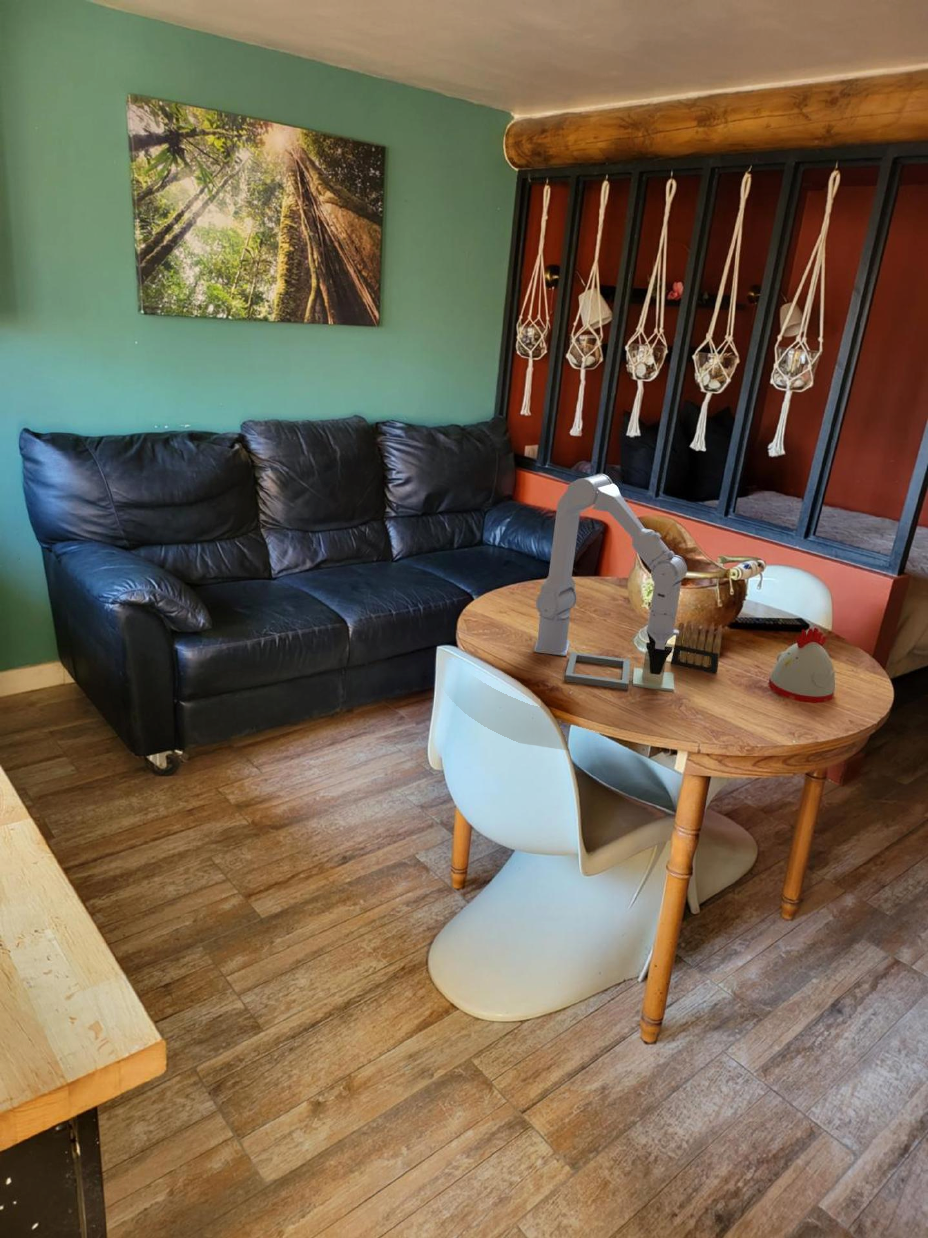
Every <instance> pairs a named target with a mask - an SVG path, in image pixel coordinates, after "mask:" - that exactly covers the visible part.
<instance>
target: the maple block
mask: <svg viewBox="0 0 928 1238" xmlns="http://www.w3.org/2000/svg"><path fill="white" fill-rule="evenodd" d="M643 660H644V661H643V666H642V669H643V673H642V681H649V682H656V683H663V677H664V672H665V670H666V664H667V663H666V662H667V660H666V661H665V663H664V665H663V668H662V671H661V673H660V675H656V674H650V659H649V653H648V651H647V650H645V654H644V659H643Z"/></svg>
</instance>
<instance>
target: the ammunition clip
mask: <svg viewBox="0 0 928 1238" xmlns="http://www.w3.org/2000/svg"><path fill="white" fill-rule="evenodd" d="M684 625H685V622H684V623H682V622H681V623H678V627H677V630H679V635H678V636H676V635H675V638H674V639H675V640H674V647H673V649H672V656H671V661H670V665H673V666H677V667H682V668H686V669H692V670H695V671H700V672H706V673H710V674H717V673H718V668H719V659H720V652H721V647H722V637H723V636H722V635H723V626H722V625H723V624H720V625H718V628H717V630H716V635H714V634H715V624H714V622H712V623H711V624H710V627H709V630H708V634H707V622H706V621H704V622H703V623H702V625H701V629H700V628H699V627H700V623H699V619H697V620H696V621H695V623H694V625H693V629H692V620H691V621H688V620H687V622H686V626H685V630H684ZM699 629H700V630H699ZM691 631H692V632H691ZM699 631H700V632H699ZM699 633H700V634H699ZM706 636H707V637H706ZM714 636H715V639H714Z"/></svg>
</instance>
